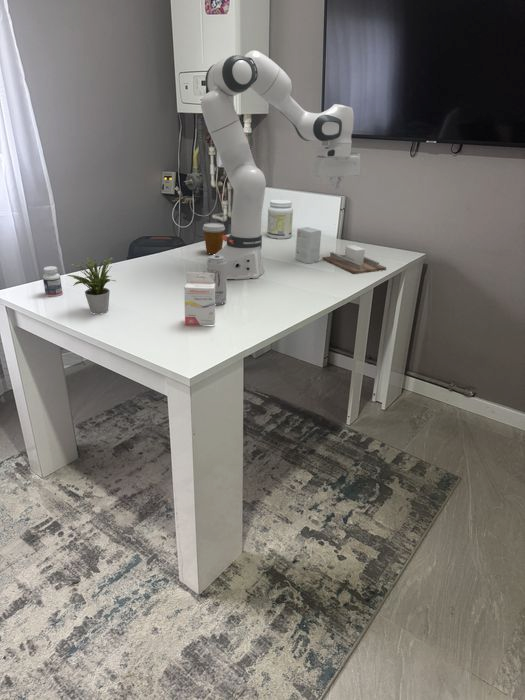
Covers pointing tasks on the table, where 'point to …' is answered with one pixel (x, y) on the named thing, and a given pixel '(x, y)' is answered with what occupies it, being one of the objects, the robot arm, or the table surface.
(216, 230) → the disposable coffee cup
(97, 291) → the house plant
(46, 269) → the pill bottle
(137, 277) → the table surface
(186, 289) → the ink cartridge box
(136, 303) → the table surface
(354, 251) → the module block
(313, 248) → the small box
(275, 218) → the supplement tub
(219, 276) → the energy drink can
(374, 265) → the brown flat wooden board
